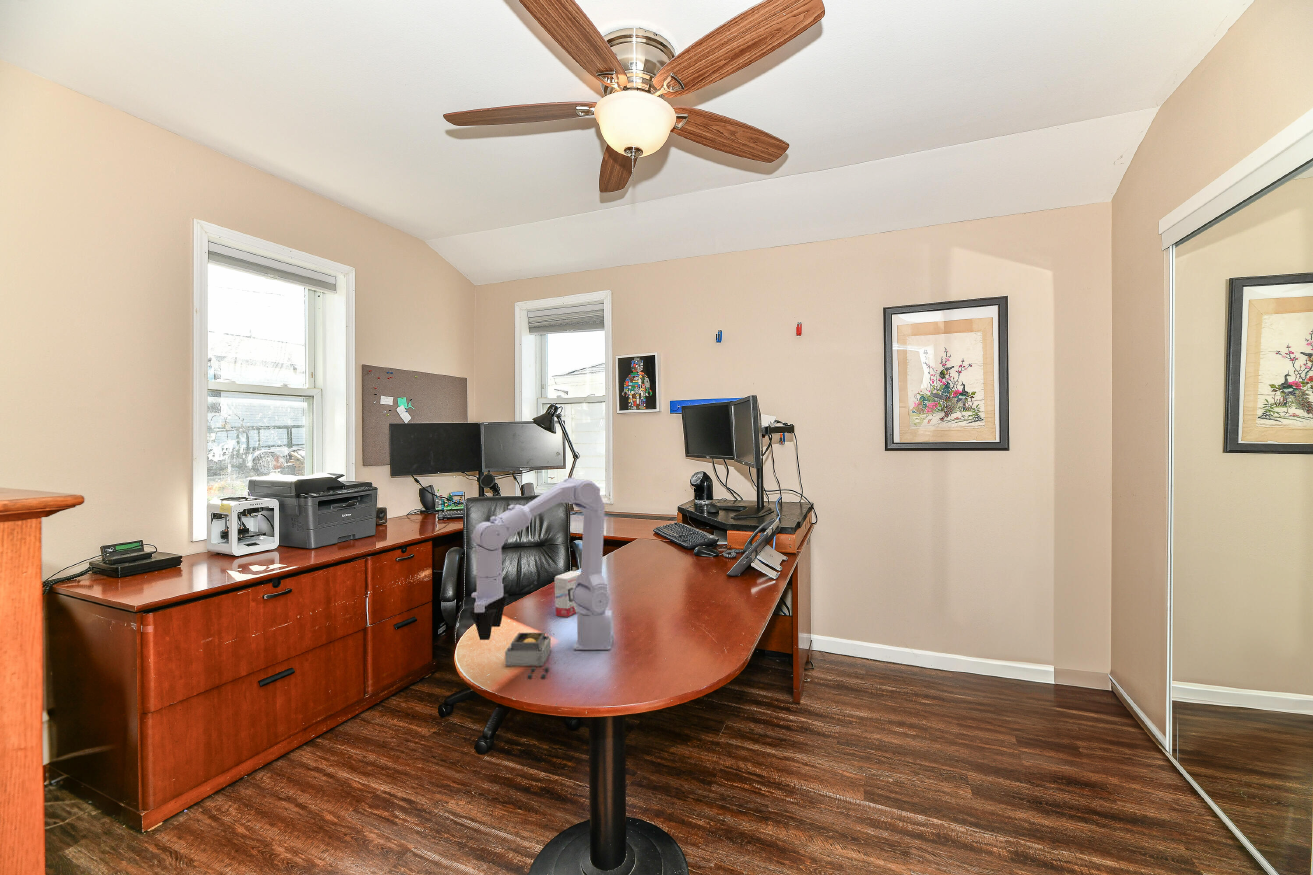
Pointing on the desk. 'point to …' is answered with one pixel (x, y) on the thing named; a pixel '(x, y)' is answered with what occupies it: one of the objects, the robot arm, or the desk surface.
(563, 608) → the ink box
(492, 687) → the desk surface
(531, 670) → the cradle
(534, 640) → the ball
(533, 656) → the silver open square box
